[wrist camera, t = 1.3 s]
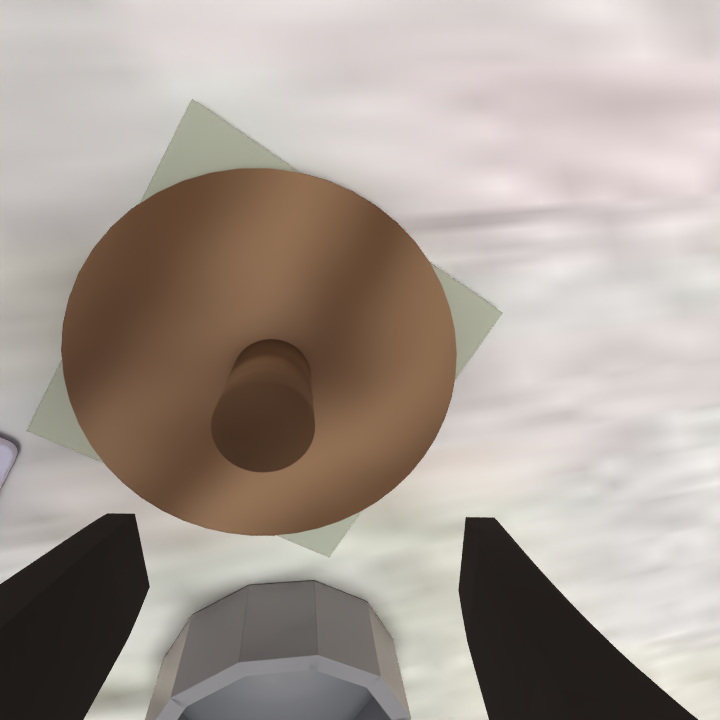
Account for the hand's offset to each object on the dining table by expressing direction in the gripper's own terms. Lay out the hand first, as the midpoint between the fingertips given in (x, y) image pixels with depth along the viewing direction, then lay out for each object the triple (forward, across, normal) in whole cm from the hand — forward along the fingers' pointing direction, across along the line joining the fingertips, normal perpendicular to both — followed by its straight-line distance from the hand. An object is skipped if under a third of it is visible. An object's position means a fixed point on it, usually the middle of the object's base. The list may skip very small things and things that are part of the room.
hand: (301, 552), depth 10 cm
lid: (+9, +2, -1) cm, 9 cm away
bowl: (+9, +3, +17) cm, 19 cm away
